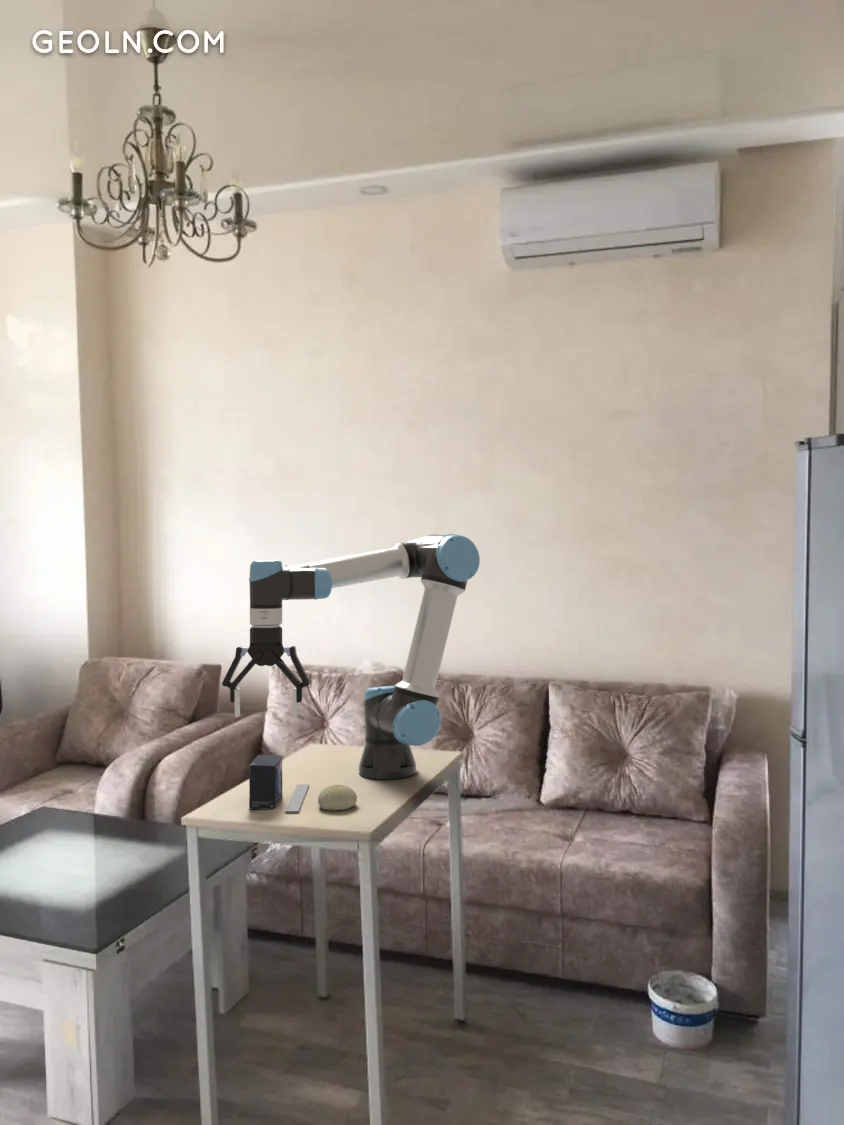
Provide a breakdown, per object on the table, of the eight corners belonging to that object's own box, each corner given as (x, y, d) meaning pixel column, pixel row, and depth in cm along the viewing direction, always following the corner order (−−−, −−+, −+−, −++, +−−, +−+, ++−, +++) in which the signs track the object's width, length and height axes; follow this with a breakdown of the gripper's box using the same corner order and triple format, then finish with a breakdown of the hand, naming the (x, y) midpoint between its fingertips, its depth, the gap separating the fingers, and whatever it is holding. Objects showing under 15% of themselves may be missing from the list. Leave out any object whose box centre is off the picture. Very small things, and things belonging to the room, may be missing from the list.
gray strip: (309, 786, 241) (309, 784, 241) (298, 813, 218) (298, 810, 218) (297, 786, 241) (297, 784, 241) (285, 813, 218) (285, 811, 218)
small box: (276, 809, 221) (275, 764, 221) (248, 810, 221) (247, 765, 221) (284, 797, 232) (283, 754, 231) (257, 797, 232) (256, 754, 232)
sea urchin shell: (312, 805, 218) (317, 774, 224) (318, 822, 224) (323, 791, 229) (351, 806, 217) (356, 774, 222) (356, 823, 223) (361, 792, 228)
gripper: (209, 627, 220) (209, 719, 221) (317, 627, 220) (317, 719, 221) (216, 624, 228) (216, 713, 228) (321, 624, 228) (321, 713, 228)
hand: (266, 716), depth 224 cm, fingers open, 13 cm apart
